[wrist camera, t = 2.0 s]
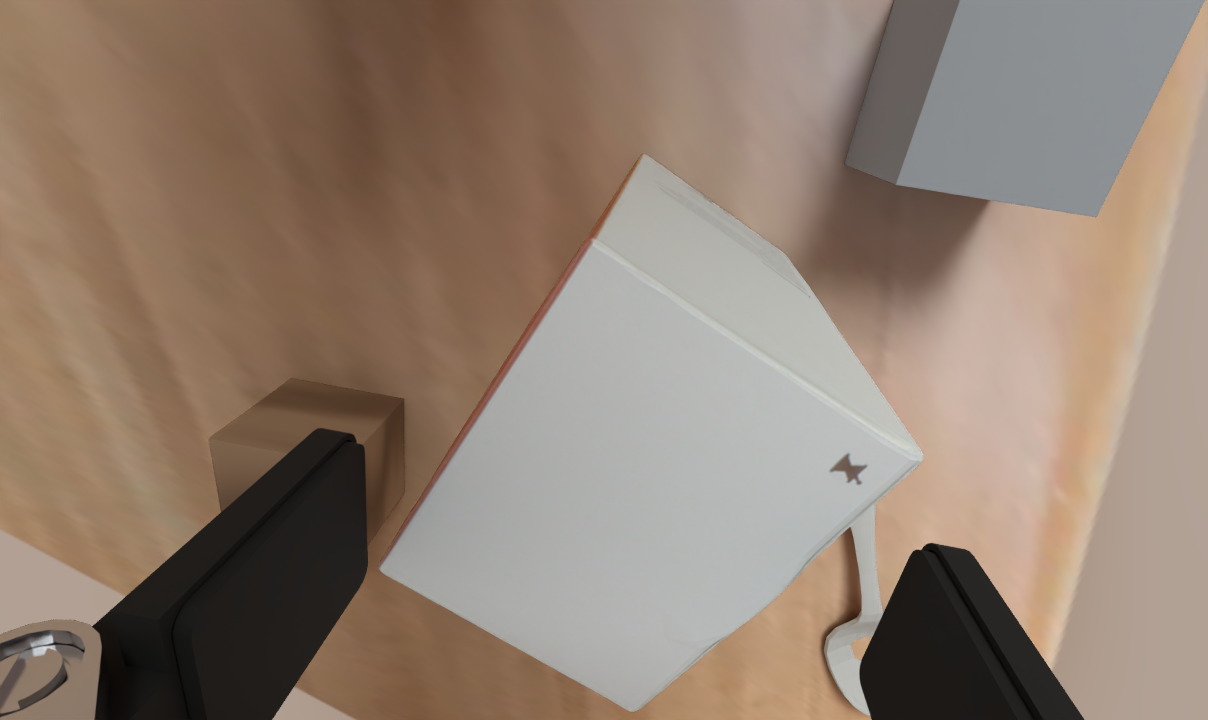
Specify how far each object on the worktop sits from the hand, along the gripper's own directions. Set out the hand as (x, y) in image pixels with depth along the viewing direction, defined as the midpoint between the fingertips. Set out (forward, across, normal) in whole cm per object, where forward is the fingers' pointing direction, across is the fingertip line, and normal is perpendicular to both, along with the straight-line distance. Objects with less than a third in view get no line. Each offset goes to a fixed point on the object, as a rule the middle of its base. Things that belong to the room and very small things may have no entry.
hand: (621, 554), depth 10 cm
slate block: (+13, -8, -9) cm, 18 cm away
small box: (+13, 0, -1) cm, 13 cm away
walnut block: (+13, +12, +8) cm, 20 cm away
